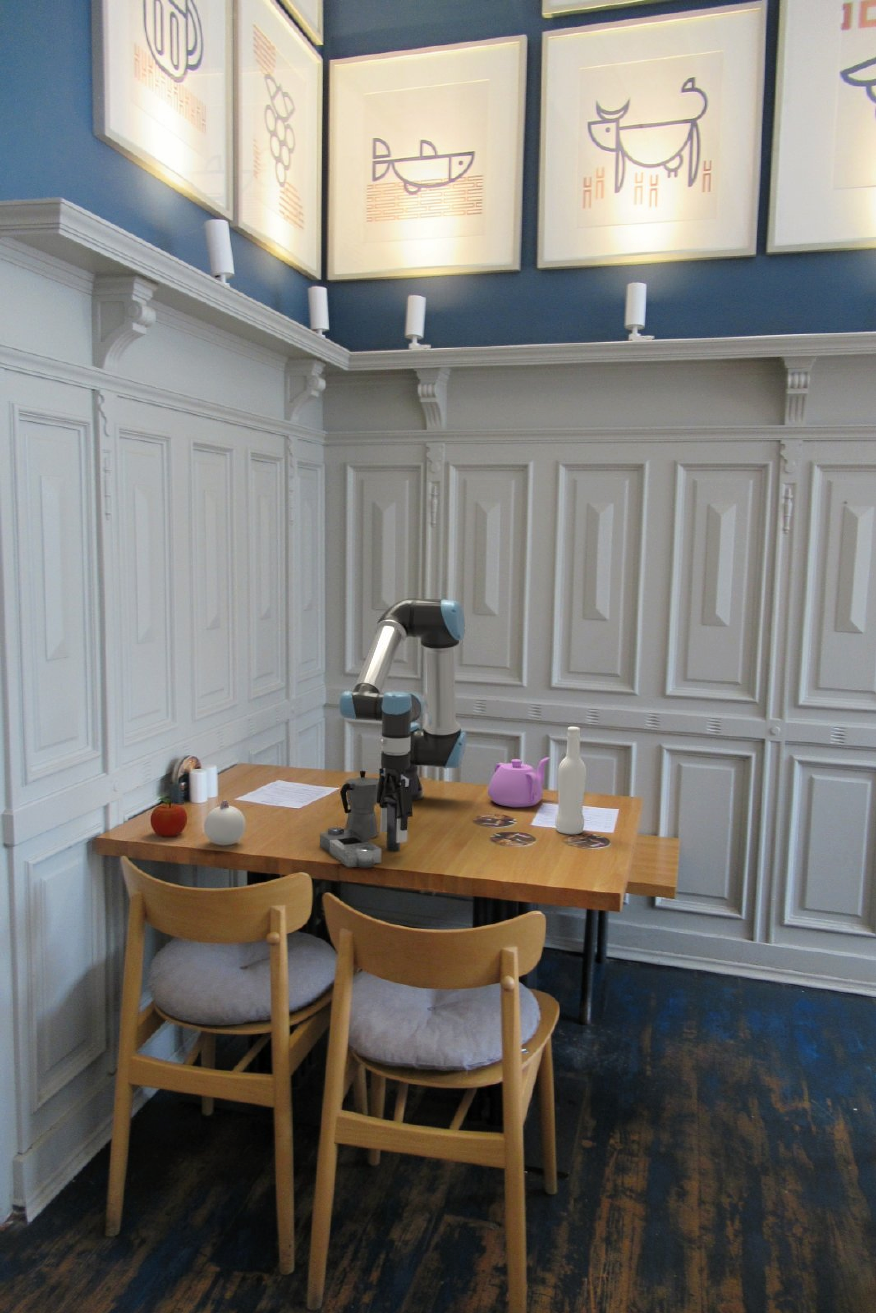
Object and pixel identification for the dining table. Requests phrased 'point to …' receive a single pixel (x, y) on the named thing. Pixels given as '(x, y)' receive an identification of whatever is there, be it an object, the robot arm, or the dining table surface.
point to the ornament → (224, 824)
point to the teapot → (517, 784)
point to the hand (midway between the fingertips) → (393, 836)
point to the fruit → (168, 819)
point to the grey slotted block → (350, 848)
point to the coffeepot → (361, 805)
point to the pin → (391, 823)
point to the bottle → (571, 787)
